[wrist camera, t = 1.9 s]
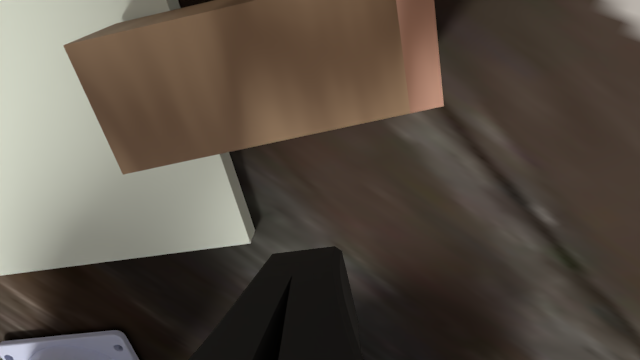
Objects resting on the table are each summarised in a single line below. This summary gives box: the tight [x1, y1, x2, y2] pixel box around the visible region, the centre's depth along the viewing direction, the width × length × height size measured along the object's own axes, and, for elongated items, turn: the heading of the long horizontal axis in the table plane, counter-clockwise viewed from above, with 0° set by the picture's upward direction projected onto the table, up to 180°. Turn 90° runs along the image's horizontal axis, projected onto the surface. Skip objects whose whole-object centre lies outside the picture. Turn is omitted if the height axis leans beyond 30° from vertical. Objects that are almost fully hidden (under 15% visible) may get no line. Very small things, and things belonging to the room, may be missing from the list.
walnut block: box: [63, 0, 444, 175], centre depth 15 cm, size 4×4×10 cm
